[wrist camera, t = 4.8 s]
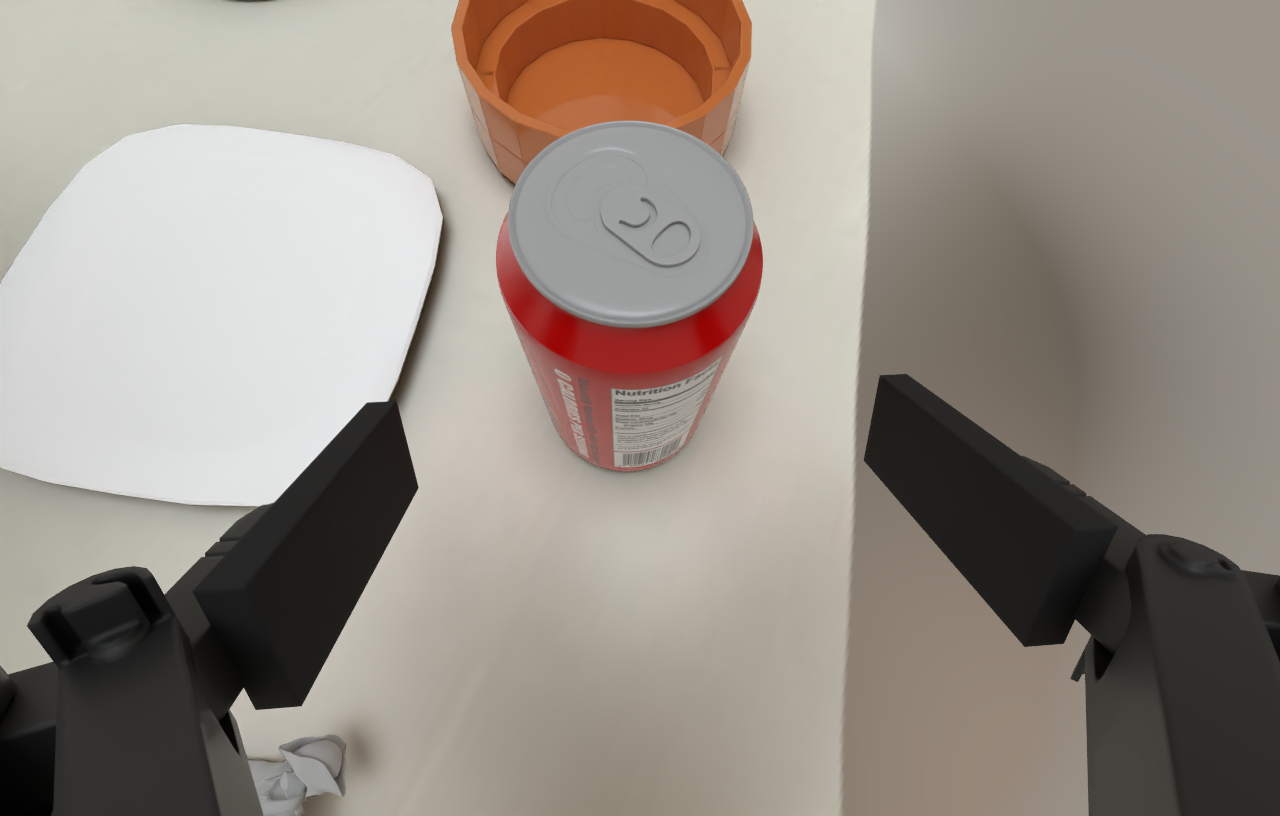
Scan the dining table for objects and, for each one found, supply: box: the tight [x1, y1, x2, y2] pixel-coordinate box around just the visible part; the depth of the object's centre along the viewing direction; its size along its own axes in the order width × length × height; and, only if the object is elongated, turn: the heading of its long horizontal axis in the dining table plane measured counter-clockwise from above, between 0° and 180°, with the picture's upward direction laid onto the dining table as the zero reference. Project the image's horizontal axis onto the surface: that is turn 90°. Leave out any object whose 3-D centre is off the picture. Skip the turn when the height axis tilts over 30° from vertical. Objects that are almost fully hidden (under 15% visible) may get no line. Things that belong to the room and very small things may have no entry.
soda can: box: [496, 121, 763, 472], centre depth 21 cm, size 8×8×15 cm
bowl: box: [451, 0, 752, 184], centre depth 31 cm, size 16×16×6 cm
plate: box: [0, 124, 444, 507], centre depth 28 cm, size 22×22×2 cm
